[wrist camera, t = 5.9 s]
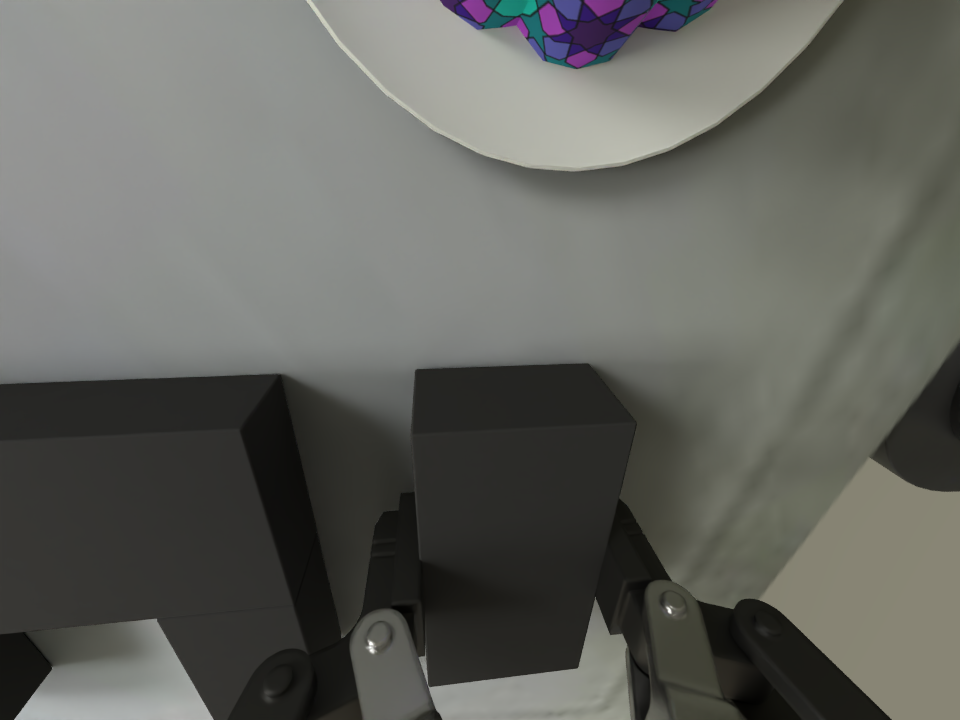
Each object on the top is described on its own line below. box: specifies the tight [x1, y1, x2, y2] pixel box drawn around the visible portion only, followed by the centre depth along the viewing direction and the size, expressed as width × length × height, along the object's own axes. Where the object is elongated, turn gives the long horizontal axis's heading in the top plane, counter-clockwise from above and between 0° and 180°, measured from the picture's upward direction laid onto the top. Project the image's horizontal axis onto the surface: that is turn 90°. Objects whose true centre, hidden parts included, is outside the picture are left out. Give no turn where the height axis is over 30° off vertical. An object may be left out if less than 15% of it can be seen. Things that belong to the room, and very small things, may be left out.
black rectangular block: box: [411, 364, 637, 687], centre depth 12 cm, size 5×10×3 cm, turn 179°
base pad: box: [0, 374, 341, 720], centre depth 11 cm, size 14×12×2 cm
